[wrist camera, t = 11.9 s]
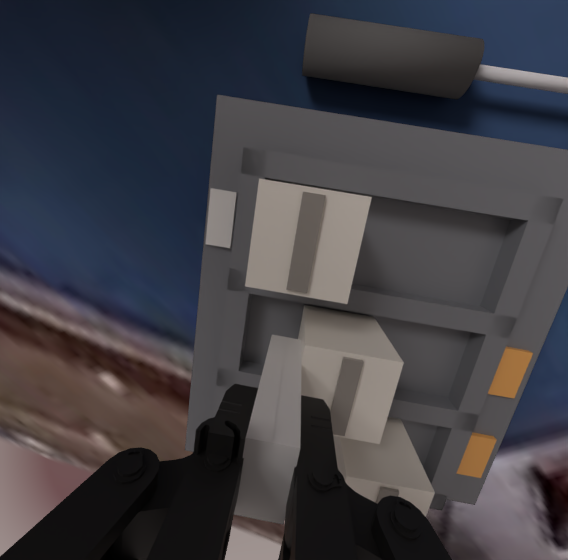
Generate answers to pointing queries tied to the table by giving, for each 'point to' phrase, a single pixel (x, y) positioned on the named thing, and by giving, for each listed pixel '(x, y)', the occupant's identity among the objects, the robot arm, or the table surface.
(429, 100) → the table surface
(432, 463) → the switch bank
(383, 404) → the white grooved block
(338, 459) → the small white box
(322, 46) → the screwdriver
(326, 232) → the small white box
